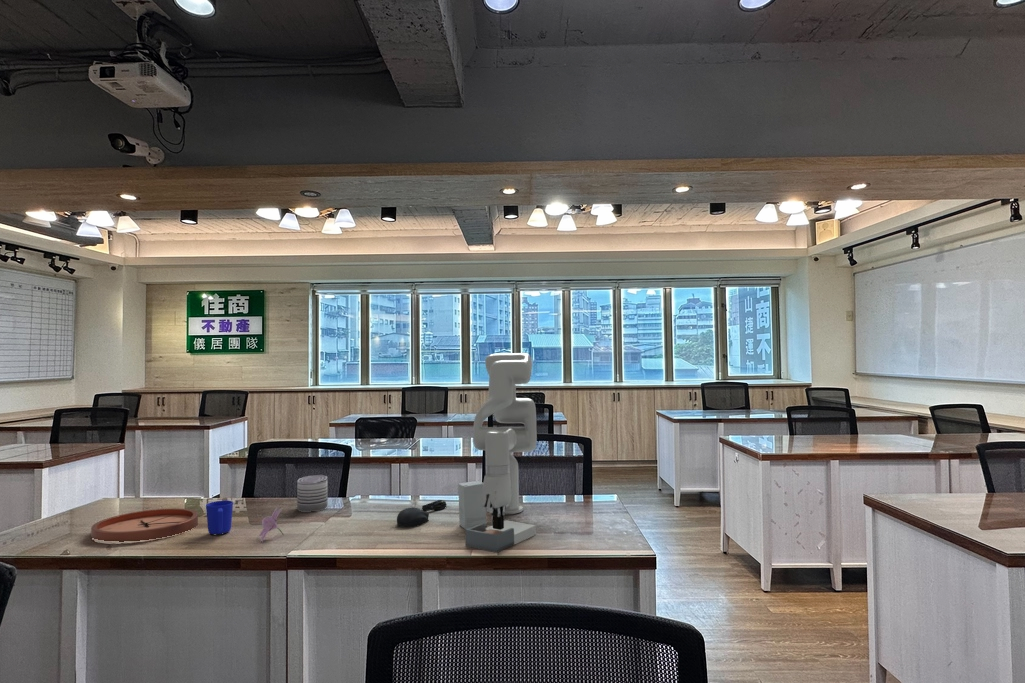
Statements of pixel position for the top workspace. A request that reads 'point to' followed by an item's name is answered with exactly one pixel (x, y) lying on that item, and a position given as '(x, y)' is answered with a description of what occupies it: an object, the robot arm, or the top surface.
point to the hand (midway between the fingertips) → (498, 528)
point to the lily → (270, 523)
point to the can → (312, 493)
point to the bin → (488, 538)
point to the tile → (493, 531)
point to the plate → (518, 530)
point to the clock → (145, 525)
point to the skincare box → (471, 504)
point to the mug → (219, 516)
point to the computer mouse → (418, 514)
